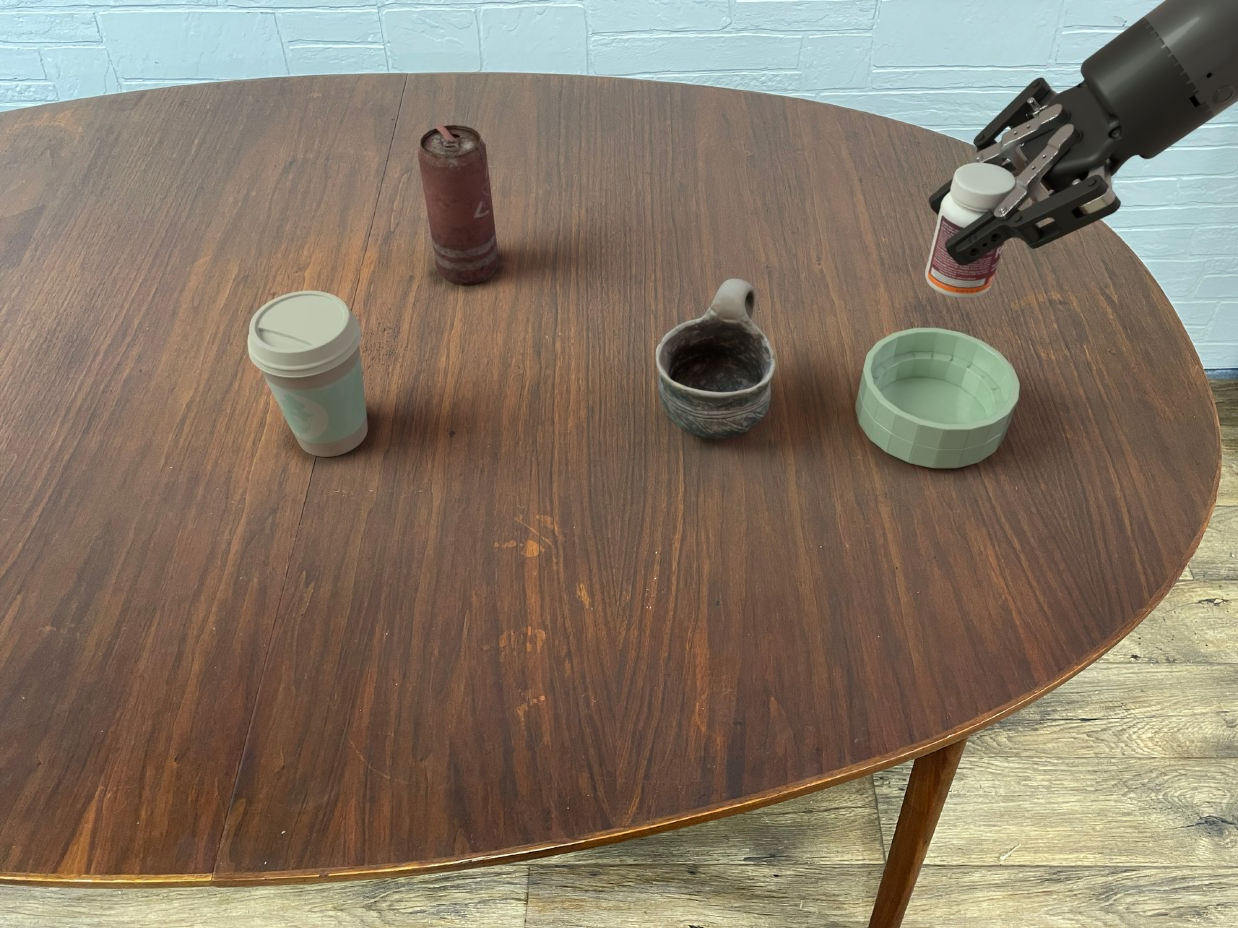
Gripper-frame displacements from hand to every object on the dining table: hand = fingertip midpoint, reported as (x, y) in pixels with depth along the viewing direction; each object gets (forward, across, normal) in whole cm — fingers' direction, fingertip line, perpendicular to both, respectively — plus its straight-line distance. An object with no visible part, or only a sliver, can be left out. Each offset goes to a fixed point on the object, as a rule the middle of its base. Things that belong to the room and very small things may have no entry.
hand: (944, 232), depth 72 cm
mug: (+25, -3, +3) cm, 25 cm away
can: (+41, -24, -13) cm, 49 cm away
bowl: (+12, -1, +16) cm, 20 cm away
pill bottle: (+2, 0, +4) cm, 5 cm away
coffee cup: (+47, 0, -19) cm, 51 cm away
